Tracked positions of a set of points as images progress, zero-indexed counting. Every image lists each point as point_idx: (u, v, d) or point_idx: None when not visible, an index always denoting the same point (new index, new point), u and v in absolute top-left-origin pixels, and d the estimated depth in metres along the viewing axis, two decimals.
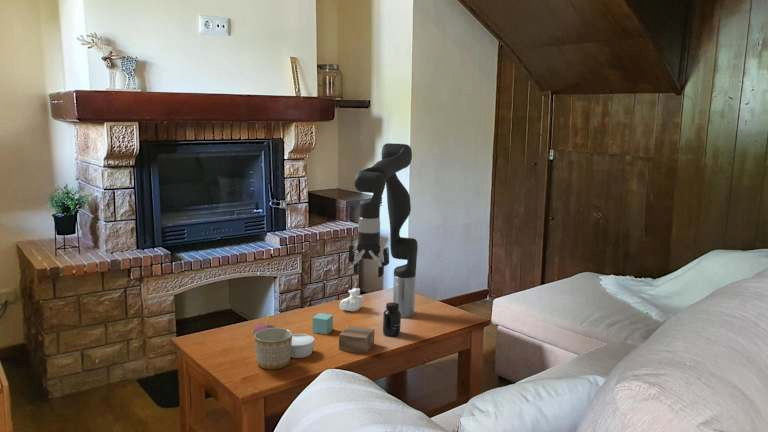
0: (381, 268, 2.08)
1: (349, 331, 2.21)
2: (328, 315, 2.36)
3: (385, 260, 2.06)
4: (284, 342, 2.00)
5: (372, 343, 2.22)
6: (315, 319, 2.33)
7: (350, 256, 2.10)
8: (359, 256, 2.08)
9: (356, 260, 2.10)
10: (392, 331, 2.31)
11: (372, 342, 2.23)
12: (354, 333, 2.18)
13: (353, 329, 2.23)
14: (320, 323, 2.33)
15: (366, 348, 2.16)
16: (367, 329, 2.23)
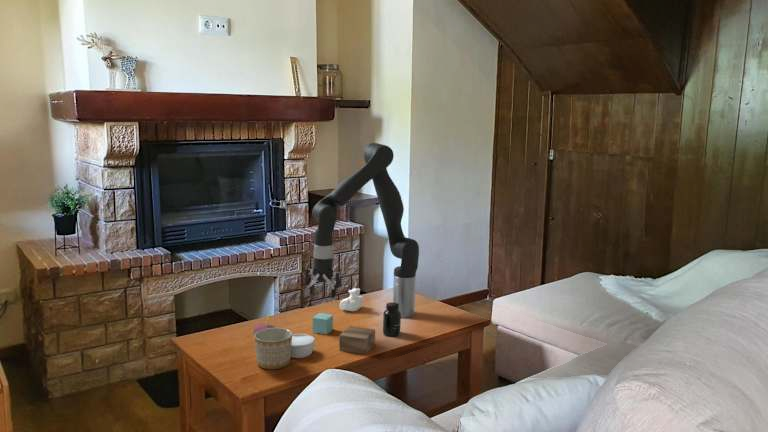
0: (334, 290, 2.31)
1: (349, 331, 2.20)
2: (328, 315, 2.36)
3: (337, 283, 2.30)
4: (284, 342, 2.00)
5: (372, 343, 2.22)
6: (315, 319, 2.33)
7: (306, 279, 2.33)
8: (314, 279, 2.32)
9: (312, 283, 2.33)
10: (392, 331, 2.31)
11: (373, 342, 2.22)
12: (354, 334, 2.18)
13: (353, 329, 2.23)
14: (320, 323, 2.33)
15: (367, 348, 2.16)
16: (368, 329, 2.23)
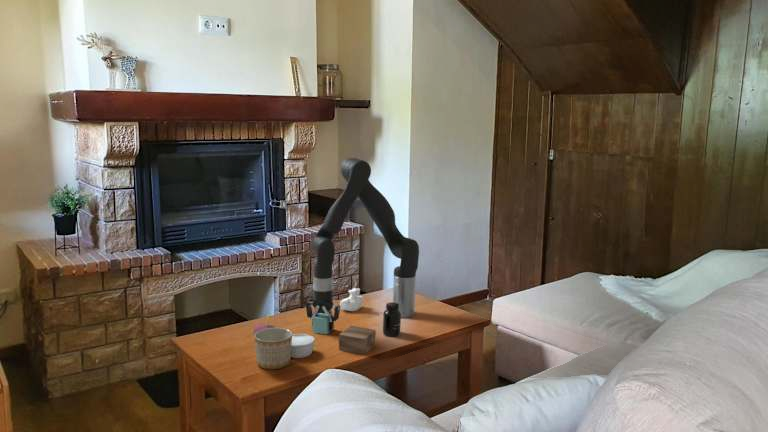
0: (331, 323, 2.34)
1: (349, 331, 2.20)
2: None
3: (335, 316, 2.32)
4: (284, 342, 2.00)
5: (372, 344, 2.21)
6: (315, 319, 2.33)
7: (308, 312, 2.36)
8: (315, 312, 2.34)
9: None
10: (392, 331, 2.31)
11: (373, 343, 2.22)
12: (354, 334, 2.18)
13: (354, 329, 2.23)
14: (320, 323, 2.33)
15: (365, 349, 2.16)
16: (368, 330, 2.22)
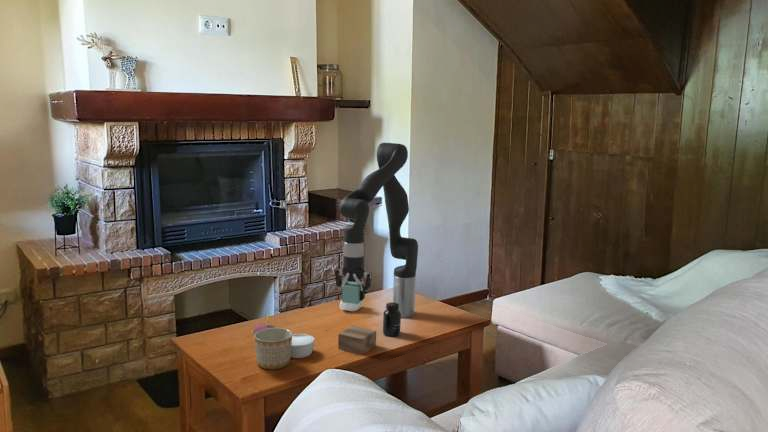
0: (362, 292, 2.17)
1: (350, 331, 2.21)
2: None
3: (366, 285, 2.16)
4: (284, 342, 2.00)
5: (372, 344, 2.21)
6: (345, 287, 2.17)
7: (337, 280, 2.19)
8: (345, 280, 2.18)
9: (344, 284, 2.19)
10: (392, 331, 2.31)
11: (373, 344, 2.21)
12: (353, 334, 2.18)
13: (355, 329, 2.23)
14: (350, 292, 2.16)
15: (364, 349, 2.15)
16: (369, 330, 2.22)
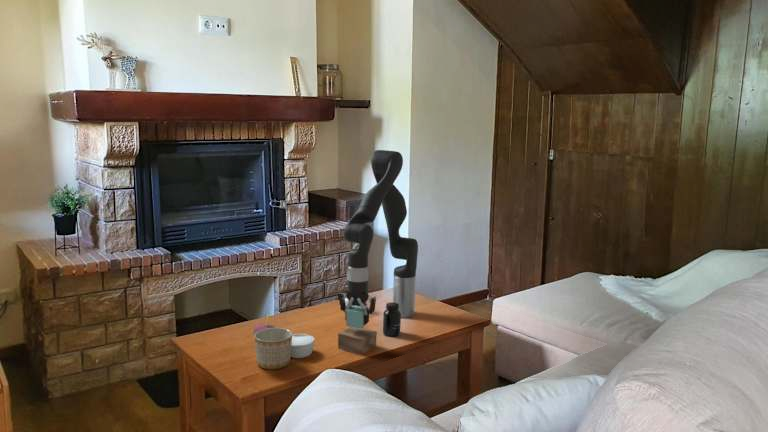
0: (366, 316, 2.17)
1: (350, 331, 2.21)
2: None
3: (371, 309, 2.16)
4: (284, 342, 2.00)
5: (372, 345, 2.20)
6: (349, 312, 2.17)
7: (341, 304, 2.19)
8: (349, 304, 2.18)
9: (348, 308, 2.19)
10: (392, 331, 2.31)
11: (373, 344, 2.21)
12: (353, 333, 2.18)
13: (356, 329, 2.23)
14: (355, 316, 2.16)
15: (363, 349, 2.15)
16: (369, 330, 2.22)
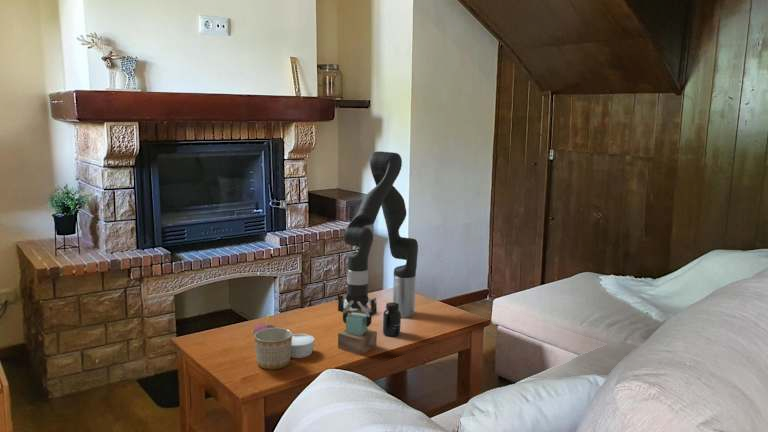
0: (369, 318, 2.17)
1: None
2: (362, 315, 2.20)
3: (373, 310, 2.16)
4: (284, 342, 2.00)
5: (372, 345, 2.20)
6: (349, 319, 2.17)
7: (339, 306, 2.20)
8: (348, 306, 2.18)
9: (345, 310, 2.19)
10: (392, 331, 2.31)
11: (373, 344, 2.20)
12: None
13: None
14: (354, 323, 2.17)
15: (362, 349, 2.15)
16: (369, 331, 2.21)
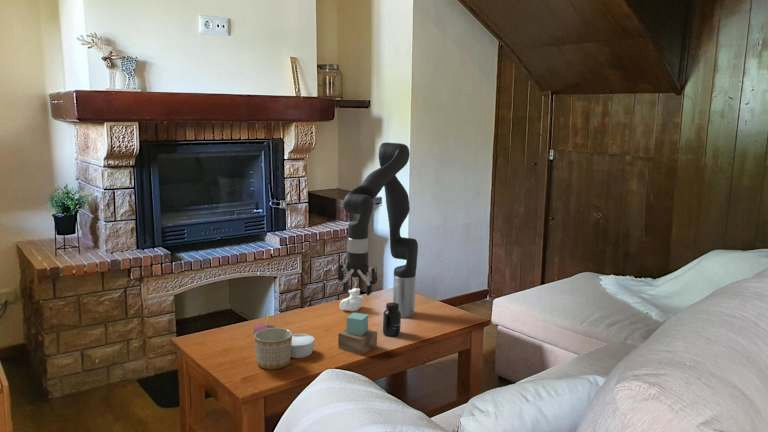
0: (369, 287, 2.15)
1: None
2: (363, 315, 2.20)
3: (373, 279, 2.14)
4: (284, 342, 2.00)
5: (373, 345, 2.20)
6: (349, 319, 2.17)
7: (340, 275, 2.18)
8: (348, 275, 2.16)
9: (345, 279, 2.17)
10: (392, 331, 2.31)
11: (373, 344, 2.20)
12: None
13: None
14: (355, 323, 2.17)
15: (362, 349, 2.15)
16: (369, 331, 2.21)
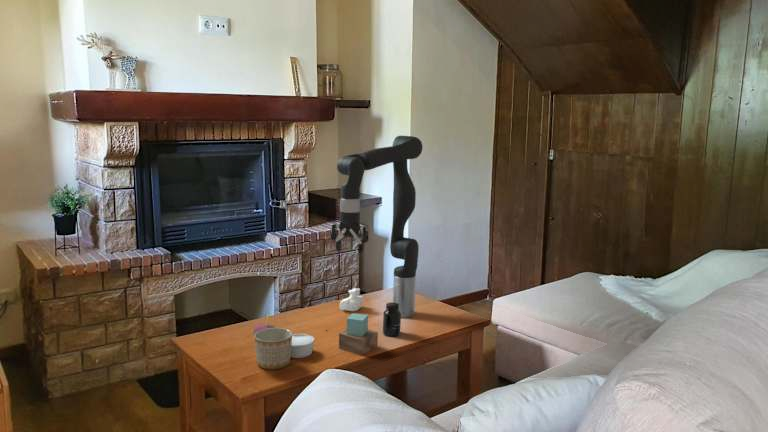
0: (361, 245, 2.27)
1: None
2: (363, 315, 2.20)
3: (364, 237, 2.25)
4: (284, 342, 2.00)
5: (373, 346, 2.20)
6: (350, 320, 2.16)
7: (333, 234, 2.29)
8: (341, 234, 2.28)
9: (338, 238, 2.29)
10: (392, 331, 2.31)
11: (374, 345, 2.20)
12: None
13: None
14: (355, 324, 2.16)
15: (363, 350, 2.15)
16: (370, 331, 2.21)
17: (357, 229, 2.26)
